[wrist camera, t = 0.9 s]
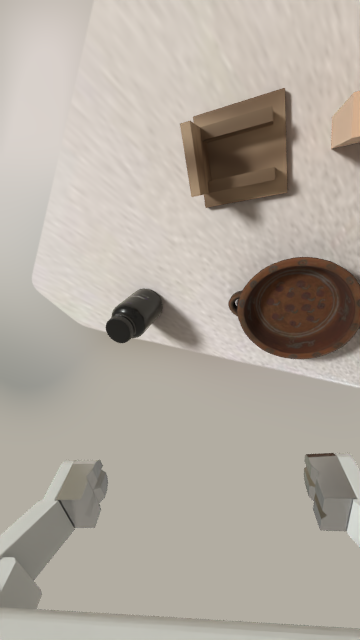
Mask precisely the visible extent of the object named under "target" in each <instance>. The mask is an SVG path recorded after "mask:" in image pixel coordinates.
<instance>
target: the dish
mask: <svg viewBox="0 0 360 640" xmlns="http://www.w3.org/2000/svg"><path fill="white" fill-rule="evenodd" d="M237 299H239V301H238V307H237V306H236V304H235V301H236V300H237ZM229 308H230V310H231V311H232V312H233V314H235V315H236V316H238V318H239V321H240V324H241V326H242V329H243V330H244V332H245V334H246V335H247V336H248V337H249V339H250V340H251V341H252V342H253V343H255V344H256V345H257V346H258V347H260V348H261V349H262V350H264V351H266V352H268V353H270V354H273V355H276V356H279V357H284V358H290V359H309V358H316V357H320V356H323V355H326V354H329V353H331V352H334V351H336V350H337V349H339V348H341V347H342V346H344V345H345V344H346V343H347V342H348V341H349V340H350V339H351V338H352V337H353V336H354V335H355V333H356V332H357V330H358V329H359V328H360V285H359V283H358V282H357V281H356V279H355V278H354V276H353V275H352V274H351V273H350V272H348V271H347V270H346V269H344V268H343V267H341V266H339V265H337V264H335V263H333V262H331V261H327V260H323V259H319V258H312V257H297V258H291V259H287V260H283V261H280V262H277V263H274V264H272V265H270V266H268V267H266V268H265V269H263V270H261V271H260V272H259V273H257V274H256V275H255V276H254V277H253V278H252V279H251V280H250V281H249V282H248V284H247V285H246V286H245V287H244V289H243V291H239V292H236V293H235V294H233V295H232V297H231V299H230V301H229Z"/></svg>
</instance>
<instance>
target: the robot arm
mask: <svg viewBox="0 0 360 640" xmlns="http://www.w3.org/2000/svg"><path fill="white" fill-rule="evenodd" d="M305 463H306V467H305V468H304V480H305V485H306V489H307V492H308V495H309V497H310V498H311V499H312V500H313V501H314V506H313V510H314V513H315V516H316V519H317V522H318V525H319V528H320V530H326V531H347V534H348V535H349V536H350V537H351V538H352V539H353V541H354V542H356V544H357V545H358V546H359V547H360V469H359V467H358V466H357V464H356V462H355V460H354V458H353V456H352V455H351V454H350V453H339V454H334V453H325V454H306V455H305ZM102 466H103V465H102V463H101V461H100V460H67V461H64V462H63V463H62V464H61V466H60V468H59V470H58V472H57V473H56V475H55V477H54V479H53V481H52V483H51V485H50V487H49V489H48V491H47V493H46V495H45V496H44V498H43V500H40V501H38V502H37V503H36V504H35V505H34V506H32V507H31V508H30V509H29V510H28V511H27V512H26V513H25V514H23V516H21V517H20V518H19V519H18V520H17V521H16V522H15V523H14V524H12V525H11V526H10V527H9V528H8V529H7V530H6V531H4V532H3V533H2V534H1V535H0V640H360V629H358V628H341V627H324V626H308V625H290V624H274V623H258V622H257V623H256V622H241V621H225V620H209V619H208V620H207V619H191V618H175V617H159V616H141V615H126V614H108V613H92V612H76V611H59V610H42V609H37V606H38V603H39V601H40V598H41V595H42V592H41V589H40V588H39V587H38V586H37V584H36V583H35V582H34V580H35V578H36V577H37V576H38V575H39V573H40V572H41V571H42V570H43V568H44V567H45V566H46V564H47V563H48V562H49V561H50V559H51V558H52V557H53V556H54V555H55V553H56V552H57V551H58V550H59V548H60V547H61V546H62V545H63V543H64V542H65V541H66V540H67V538H68V537H69V536H70V535H71V534H72V532H73V531H74V530H75V529H74V528H95V526H96V523H97V520H98V517H99V514H100V510H101V508H100V504H99V503H100V502H101V501H102V500H103V499H104V498H105V495H106V491H107V486H108V478H107V475H106V472H104V471H103V470H102Z"/></svg>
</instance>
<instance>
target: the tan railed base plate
mask: <svg viewBox="0 0 360 640" xmlns="http://www.w3.org/2000/svg"><path fill="white" fill-rule="evenodd" d="M193 120H194V123H192V122H191V121H188V122H184V123H181V124H180V126H181V133H182V139H183V145H184V152H185V158H186V164H187V171H188V177H189V184H190V190H191V196H192V197H194V196H199V195H203V194H204V199H205V206H206V208H207V207H212V206H218V205H223V204H229V203H234V202H239V201H245V200H250V199H255V198H261V197H266V196H272V195H277V194H282V193H287V159H286V117H285V88H283V89H279V90H276V91H273V92H270V93H267V94H264V95H260V96H257V97H254V98H251V99H248V100H245V101H241V102H238V103H235V104H232V105H229V106H225V107H222V108H219V109H216V110H213V111H210V112H206V113H203V114H200V115H197V116H194V117H193Z"/></svg>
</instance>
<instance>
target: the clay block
mask: <svg viewBox="0 0 360 640" xmlns="http://www.w3.org/2000/svg"><path fill="white" fill-rule="evenodd" d="M359 142H360V91H357V92H354V93H353V94H352V95H351V97H350V98H349V99H348V100H347V101H346V102H345V103H344V104H343V105H342V107H341V108H340V109H339V110H338V111H337V112H336V113H335V114H334V116H333V117H332V138H331V149H333V148H337V147H342V146H346V145H350V144H355V143H359Z"/></svg>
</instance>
